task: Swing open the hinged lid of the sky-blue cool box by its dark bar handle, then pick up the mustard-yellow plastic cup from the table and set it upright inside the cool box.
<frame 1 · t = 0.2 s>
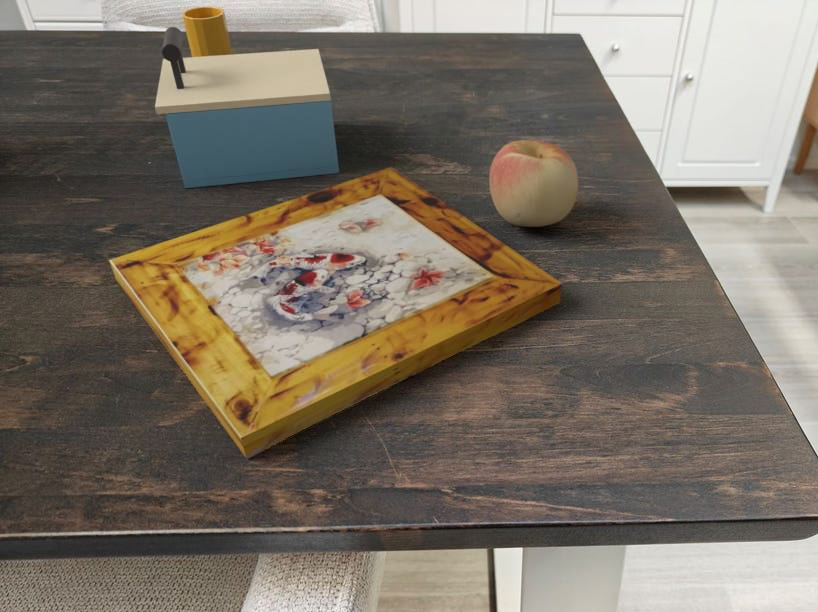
cooler lid: (239, 57, 80), point 11 cm above the table, hinge at 0.0°
apple: (531, 222, 77), on the table
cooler: (261, 153, 87), on the table
cup: (214, 63, 108), on the table
picture frame: (336, 293, 67), on the table
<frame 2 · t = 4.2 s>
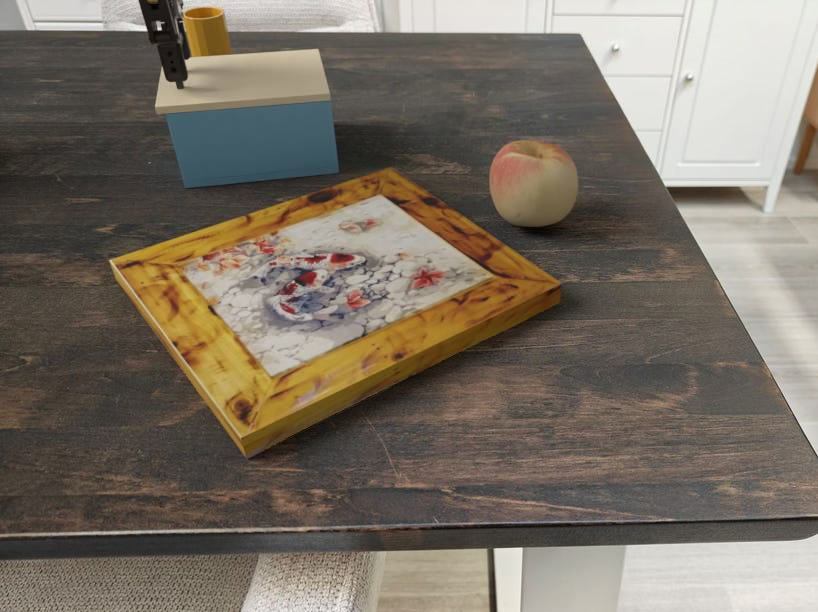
hand: (179, 68, 79), 10 cm above the table, tool pointing down, fingers closed on cooler lid, 5 cm apart
cooler lid: (239, 57, 80), point 11 cm above the table, hinge at 0.0°, touching gripper
everything else where it was.
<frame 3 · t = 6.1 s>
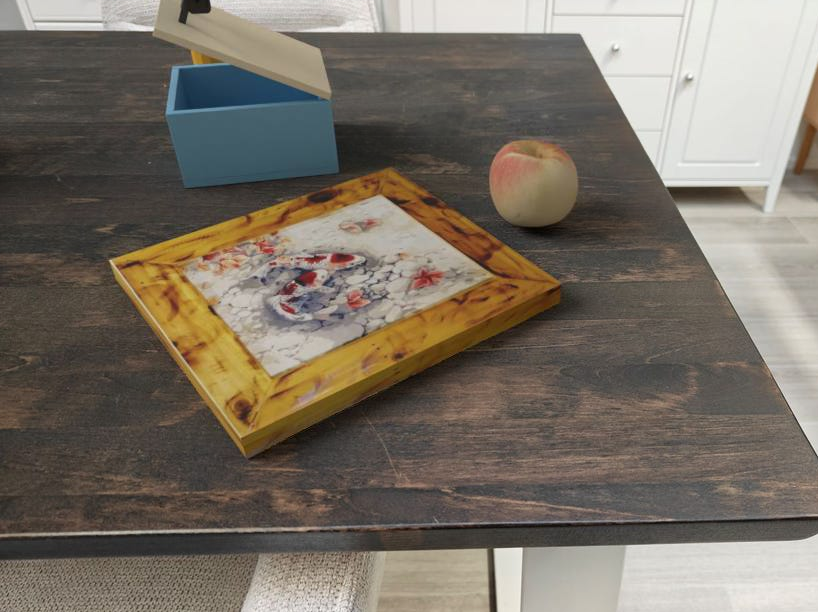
hand: (200, 2, 75), 17 cm above the table, tool pointing down, fingers closed on cooler lid, 5 cm apart
cooler lid: (251, 22, 78), point 15 cm above the table, hinge at 25.6°, touching gripper
everything else where it was.
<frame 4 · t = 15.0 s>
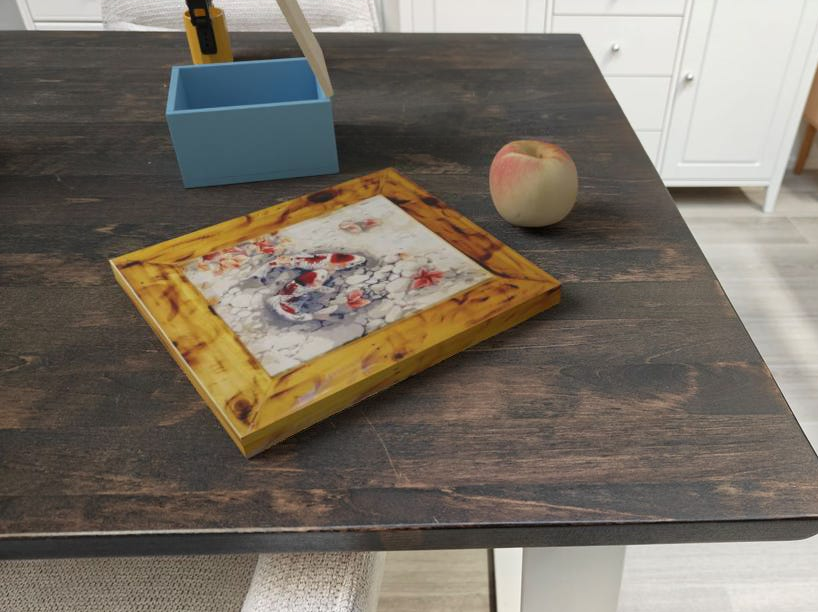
hand: (210, 45, 106), 3 cm above the table, tool pointing down, fingers closed on cup, 5 cm apart
cup: (214, 63, 108), on the table, touching gripper
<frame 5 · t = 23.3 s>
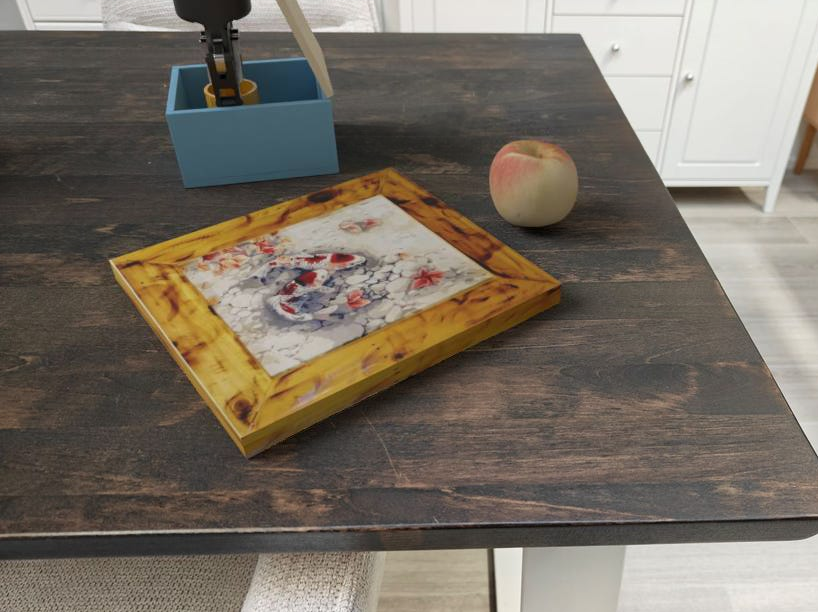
hand: (237, 126, 84), 3 cm above the table, tool pointing down, fingers closed on cup, 5 cm apart
cup: (242, 147, 86), point 1 cm above the table, touching gripper
when the fingers open (3 cm above the table, at t = 25.6 s): cup stays where it is, resting on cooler.
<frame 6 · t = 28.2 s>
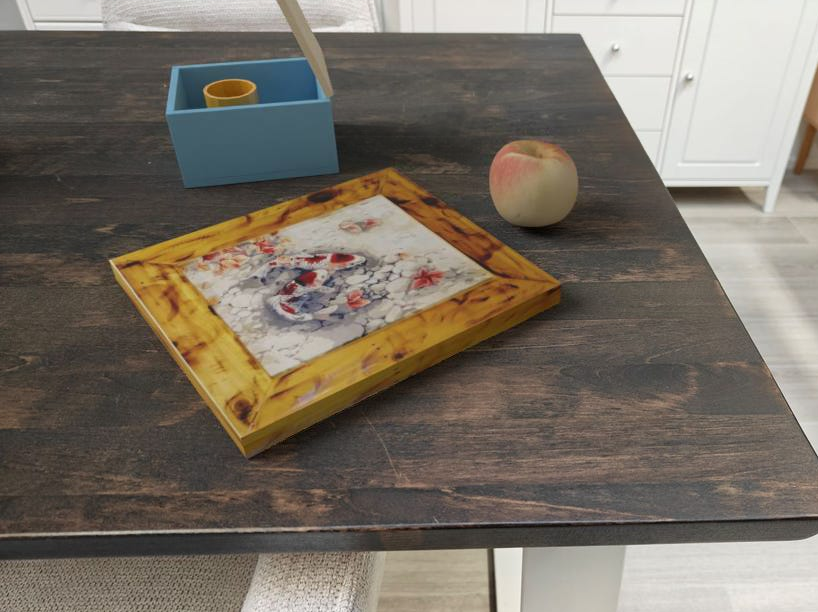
cup: (242, 148, 86), point 1 cm above the table, touching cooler
at the end: cooler lid at +70° (first picture: +0°); cup inside the target area in the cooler (1.4 cm from its centre), point 0.8 cm above the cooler's base; cup tilted 0° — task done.
